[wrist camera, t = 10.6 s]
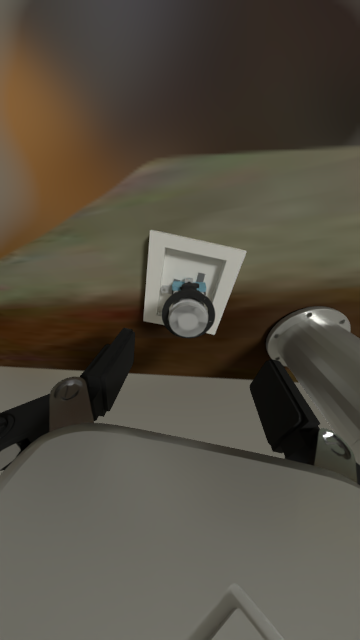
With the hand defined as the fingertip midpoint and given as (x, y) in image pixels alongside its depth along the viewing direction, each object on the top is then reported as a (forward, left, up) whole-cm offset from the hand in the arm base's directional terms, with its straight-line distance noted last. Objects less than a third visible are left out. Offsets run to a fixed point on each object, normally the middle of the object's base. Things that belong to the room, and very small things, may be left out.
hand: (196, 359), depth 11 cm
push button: (+1, 0, -15) cm, 15 cm away
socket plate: (+1, 0, -15) cm, 15 cm away
